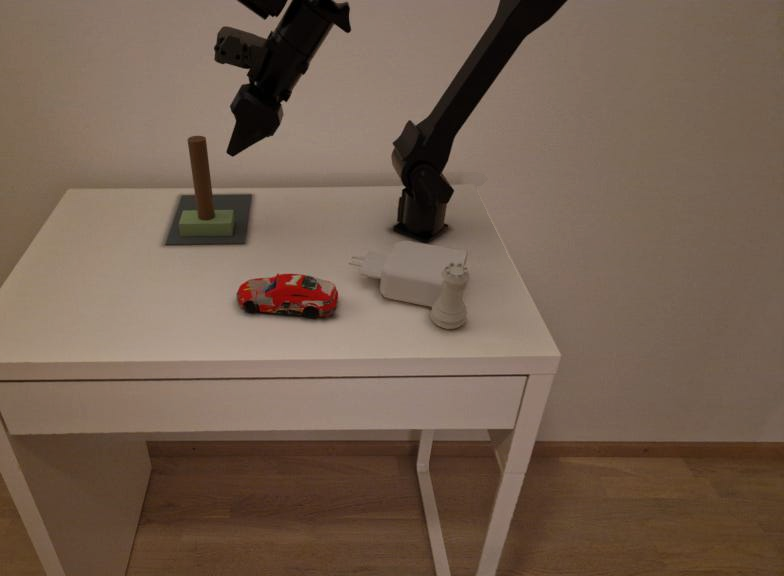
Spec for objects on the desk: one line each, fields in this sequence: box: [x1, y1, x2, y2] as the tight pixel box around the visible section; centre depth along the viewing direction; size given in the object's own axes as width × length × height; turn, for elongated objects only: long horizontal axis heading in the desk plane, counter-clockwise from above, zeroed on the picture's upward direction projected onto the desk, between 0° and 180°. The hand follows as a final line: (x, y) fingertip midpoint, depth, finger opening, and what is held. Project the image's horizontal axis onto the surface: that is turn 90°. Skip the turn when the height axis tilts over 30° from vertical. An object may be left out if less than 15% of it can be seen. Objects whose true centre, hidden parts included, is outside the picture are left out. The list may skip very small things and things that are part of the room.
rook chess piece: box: [430, 262, 471, 330], centre depth 71 cm, size 4×4×8 cm
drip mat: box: [164, 193, 252, 246], centre depth 96 cm, size 17×12×1 cm
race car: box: [236, 273, 339, 319], centre depth 76 cm, size 13×5×4 cm, turn 79°
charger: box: [348, 239, 469, 308], centre depth 79 cm, size 5×9×15 cm
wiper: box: [179, 135, 235, 237], centre depth 88 cm, size 8×4×14 cm, turn 91°
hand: (235, 140), depth 83 cm, fingers open, 9 cm apart
